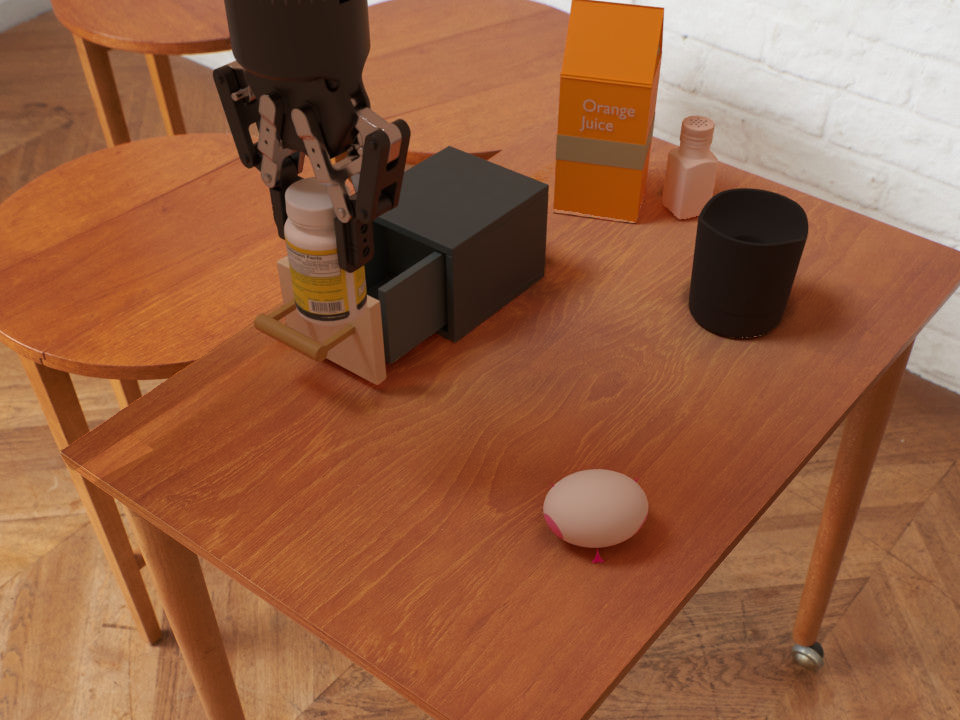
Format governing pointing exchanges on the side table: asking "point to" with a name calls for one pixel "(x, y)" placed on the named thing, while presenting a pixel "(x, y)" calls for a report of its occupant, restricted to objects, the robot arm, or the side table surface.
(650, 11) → the orange juice
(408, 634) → the side table surface
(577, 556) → the side table surface
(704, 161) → the pepper shaker
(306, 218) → the supplement bottle
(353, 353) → the drawer
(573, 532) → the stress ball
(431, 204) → the cabinet
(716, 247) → the pen holder
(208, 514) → the side table surface
